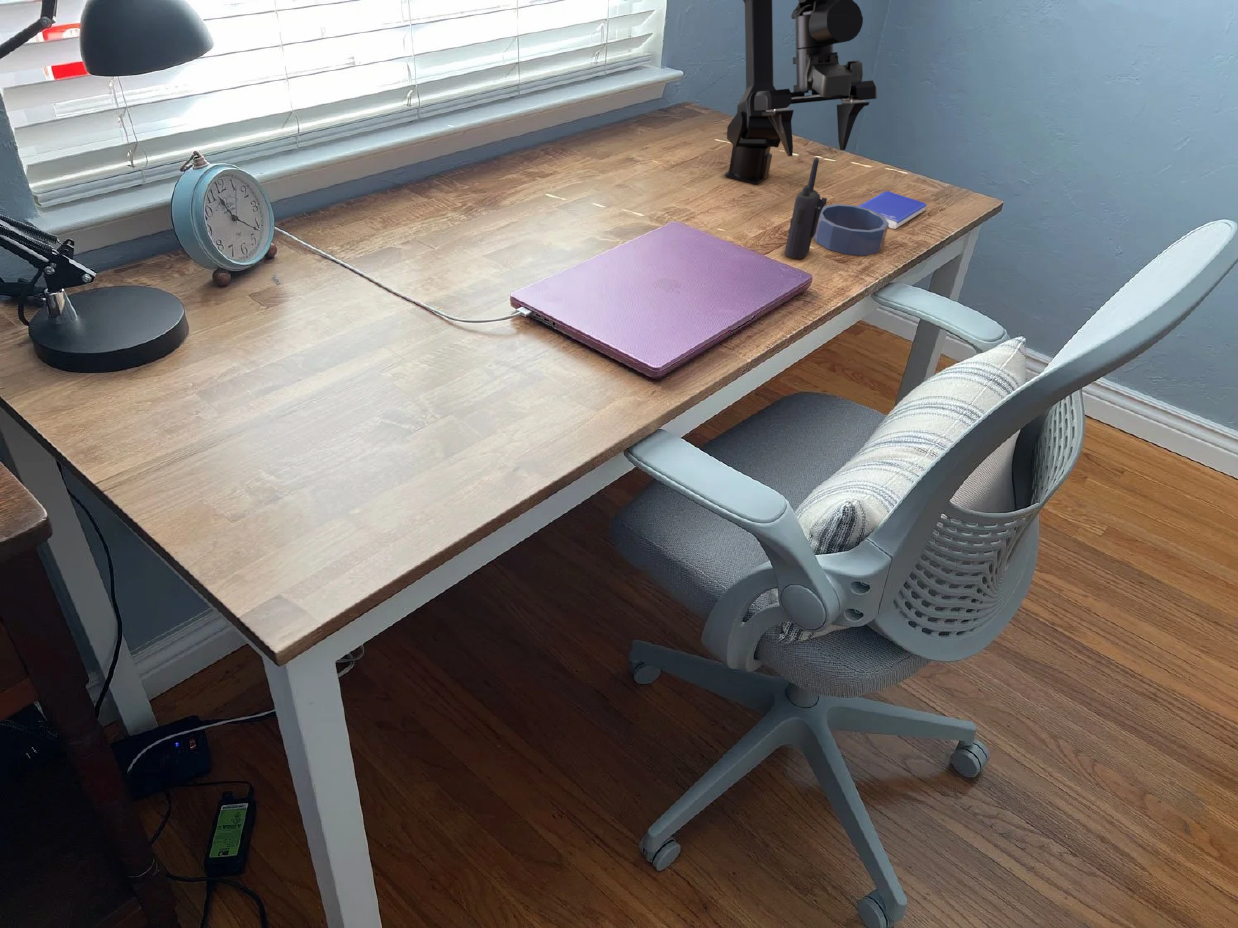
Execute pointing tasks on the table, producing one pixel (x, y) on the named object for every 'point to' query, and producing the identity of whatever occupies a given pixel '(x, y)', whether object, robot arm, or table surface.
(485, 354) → the table surface
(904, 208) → the blue book
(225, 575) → the table surface
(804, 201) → the two-way radio
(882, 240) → the blue faceted hollow ring
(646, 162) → the table surface
